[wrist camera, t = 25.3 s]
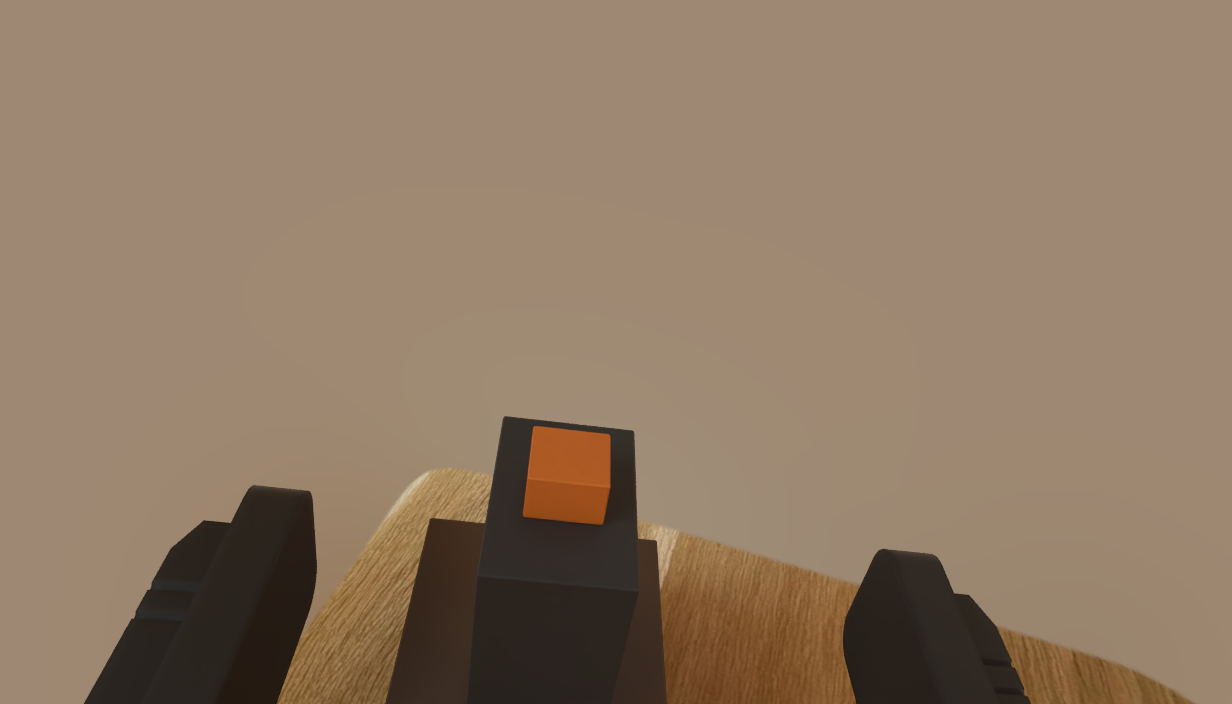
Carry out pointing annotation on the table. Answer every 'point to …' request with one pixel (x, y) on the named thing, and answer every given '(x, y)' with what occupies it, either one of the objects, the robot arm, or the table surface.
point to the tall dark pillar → (555, 566)
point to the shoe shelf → (443, 616)
